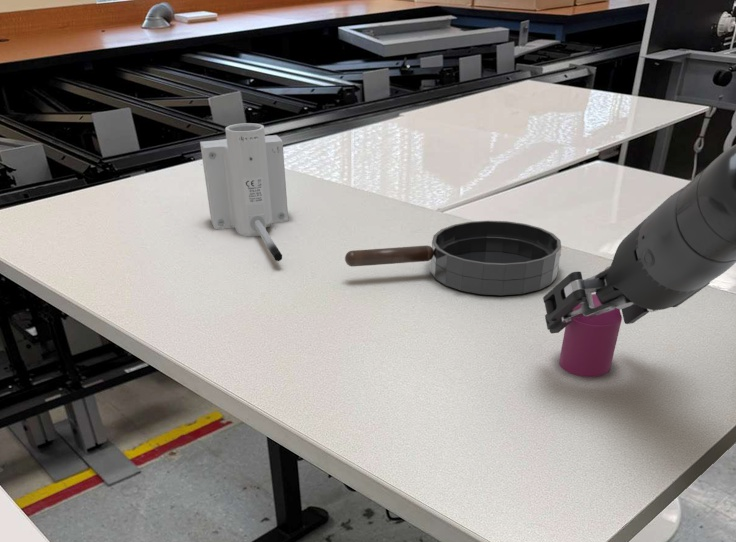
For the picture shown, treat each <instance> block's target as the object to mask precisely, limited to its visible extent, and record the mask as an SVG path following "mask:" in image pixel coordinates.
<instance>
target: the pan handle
mask: <svg viewBox="0 0 736 542" xmlns="http://www.w3.org/2000/svg"><path fill="white" fill-rule="evenodd" d="M433 256H434V250H433V249H432V246H430V245H413V246H397V247H387V248H385V247H384V248H371V249H357V250H356V249H355V250H350V251H347V253H346V254H345V256H344V261H345V264H346V265H348V267H351V268H353V267H367V266H369V267H370V266H381V265H393V264H394V265H395V264H408V263H422V262H423V263H424V262H429V261H430V262H431V259H432V258H433Z"/></svg>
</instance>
